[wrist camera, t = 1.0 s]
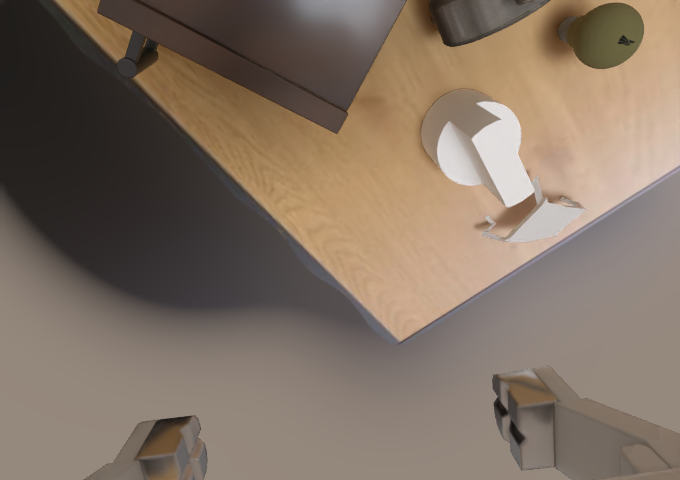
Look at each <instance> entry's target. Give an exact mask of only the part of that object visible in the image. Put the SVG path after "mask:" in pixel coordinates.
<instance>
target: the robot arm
mask: <svg viewBox="0 0 680 480" xmlns="http://www.w3.org/2000/svg"><path fill="white" fill-rule="evenodd" d="M492 383H493V390H494V392H495V393H496V395H497V396H498V397H497V399H496V400H495V402H494V412H495V418H496V422H497V426H498V429H499V431H500V433H501V435H502V437H503V439H504V440H506V441H508V442H509V443H510V451H511V453H512V455H513V457H514V459H515V460H516V462H517V464H518V466H519V467H520V469H521V470H531V469H540V468H550V467H556V469H557V470H559V471H561V472H562V473H563V474H565V475H566V476H568V477H569V478H570V479H572V480H680V434H679V433H676V432H674V431H671V430H669V429H666V428H663V427H661V426H658V425H656V424H653V423H650V422H648V421H645V420H642V419H640V418H637V417H635V416H632V415H629V414H627V413H624V412H622V411H619V410H616V409H614V408H611V407H608V406H606V405H603V404H600V403H598V402H595V401H593V400H590V399H588V398H584V399H581V398H580V397H579V396H578V395H577V394H576V393H575V392H574V391H573V390H572V389H571V388H570V387H569V386H568V384H567V383H566V382H565V381H564V380H563V379H562V378H561V377H560V376H559V375H558V374H557V373H556V372H555V371H554V369H553V368H551V367H550V366H543V367H537V368H532V369H527V370H521V371H514V372H509V373H502V374H496V375H493V379H492ZM200 430H201V427H200V423H199V420H198V418H197V417H196V416H185V417H177V418H169V419H160V420H152V421H145V422H141V423H139V424H138V425H137V426H136V428H135V429H134V431H133V432H132V434H131V435H130V437H129V438H128V440H127V442H126V443H125V445H124V446H123V448H122V449H121V451H120V453H119V454H118V456H117V457H116V459H115V460H114V462H113V463H110V464H106V465H105V466H103V467H102V468H100V469H99V470H97V471H96V472H94V473H93V474H91V475H90V476H89V477H87V478H86V479H84V480H204V477H205V474H206V469H207V451H206V447H205V443H204V442H203V441H202V440H201V439H199V438H198V435H199V433H200Z"/></svg>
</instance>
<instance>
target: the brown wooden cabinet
mask: <svg viewBox="0 0 680 480" xmlns="http://www.w3.org/2000/svg"><path fill="white" fill-rule="evenodd" d="M406 1H407V0H139V1H138V0H100V3H99V7H98V11H97V12H98V13H99V14H101V15H103V16H105V17H107V18H109V19H111V20H113V21H115V22H117V23H119V24H121V25H123V26H125V27H127V28H129V29H131V30H133V31H135V32H137V33H139V34H140V35H142V36H144V37H146V38H148V39H150V40H152V41H154V42H156V43H158V44H160V45H162V46H164V47H166V48H168V49H170V50H172V51H174V52H176V53H178V54H180V55H182V56H184V57H186V58H188V59H190V60H192V61H194V62H196V63H198V64H200V65H202V66H204V67H206V68H208V69H210V70H211V71H213V72H215V73H217V74H219V75H221V76H223V77H225V78H227V79H229V80H231V81H233V82H235V83H237V84H239V85H241V86H243V87H245V88H247V89H249V90H251V91H253V92H255V93H257V94H259V95H261V96H263V97H265V98H267V99H269V100H271V101H273V102H275V103H277V104H279V105H281V106H283V107H284V108H286V109H288V110H290V111H292V112H294V113H296V114H298V115H300V116H302V117H304V118H306V119H308V120H310V121H312V122H314V123H316V124H318V125H320V126H322V127H324V128H326V129H328V130H330V131H332V132H334V133H336V134H338V132H339V130H340V128H341V127H342V125H343V123H344V121H345V119H346V117H347V116H348V113H347V110H348V109H349V107H350V105H351V103H352V101H353V99H354V97H355V96H356V94H357V92H358V90H359V88H360V86H361V84H362V83H363V81H364V79H365V77H366V75H367V73H368V71H369V70H370V68H371V66H372V64H373V62H374V60H375V58H376V57H377V55H378V53H379V51H380V49H381V47H382V45H383V44H384V42H385V40H386V38H387V36H388V34H389V32H390V31H391V29H392V27H393V25H394V23H395V21H396V19H397V18H398V16H399V14H400V12H401V10H402V8H403V6H404V5H405V3H406ZM143 3H144V4H143ZM145 4H146V5H145ZM147 5H148V6H147ZM149 6H150V7H149ZM151 7H152V8H151ZM153 8H154V9H153ZM155 9H156V10H155ZM158 11H159V12H158ZM160 12H161V13H160ZM162 13H163V14H162ZM164 14H165V15H164ZM166 15H167V16H166ZM168 16H169V17H168ZM170 17H171V18H170ZM175 20H176V21H175ZM177 21H178V22H177ZM179 22H180V23H179ZM181 23H182V24H181ZM183 24H184V25H183ZM185 25H186V26H185ZM187 26H188V27H187ZM192 29H193V30H192ZM194 30H195V31H194ZM196 31H197V32H196ZM198 32H199V33H198ZM200 33H201V34H200ZM202 34H203V35H202ZM207 37H208V38H207ZM209 38H210V39H209ZM211 39H212V40H211ZM213 40H214V41H213ZM215 41H216V42H215ZM217 42H218V43H217ZM219 43H220V44H219ZM224 46H225V47H224ZM226 47H227V48H226ZM228 48H229V49H228ZM230 49H231V50H230ZM232 50H233V51H232ZM234 51H235V52H234ZM236 52H237V53H236ZM241 55H242V56H241ZM243 56H244V57H243ZM245 57H246V58H245ZM247 58H248V59H247ZM249 59H250V60H249ZM251 60H252V61H251ZM256 63H257V64H256ZM258 64H259V65H258ZM260 65H261V66H260ZM262 66H263V67H262ZM264 67H265V68H264ZM266 68H267V69H266ZM268 69H269V70H268ZM273 72H274V73H273ZM275 73H276V74H275ZM277 74H278V75H277ZM279 75H280V76H279ZM281 76H282V77H281ZM283 77H284V78H283ZM290 81H291V82H290ZM292 82H293V83H292ZM294 83H295V84H294ZM296 84H297V85H296ZM298 85H299V86H298ZM300 86H301V87H300ZM307 90H308V91H307ZM309 91H310V92H309ZM311 92H312V93H311ZM313 93H314V94H313ZM315 94H316V95H315ZM317 95H318V96H317ZM322 98H323V99H322ZM324 99H325V100H324ZM326 100H327V101H326ZM328 101H329V102H328ZM330 102H331V103H330ZM332 103H333V104H332ZM339 107H340V108H339ZM341 108H342V109H341ZM343 109H344V110H343ZM345 110H346V111H345Z"/></svg>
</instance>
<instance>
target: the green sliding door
mask: <svg viewBox="0 0 680 480" xmlns="http://www.w3.org/2000/svg"><path fill="white" fill-rule="evenodd" d="M138 1H139V0H138ZM143 4H144V3H143ZM145 5H146V4H145ZM147 6H148V5H147ZM149 7H150V6H149ZM151 8H152V7H151ZM153 9H154V8H153ZM155 10H156V9H155ZM158 12H159V11H158ZM160 13H161V12H160ZM162 14H163V13H162ZM164 15H165V14H164ZM166 16H167V15H166ZM168 17H169V16H168ZM170 18H171V17H170ZM175 21H176V20H175ZM177 22H178V21H177ZM179 23H180V22H179ZM181 24H182V23H181ZM183 25H184V24H183ZM185 26H186V25H185ZM187 27H188V26H187ZM192 30H193V29H192ZM194 31H195V30H194ZM196 32H197V31H196ZM198 33H199V32H198ZM200 34H201V33H200ZM202 35H203V34H202ZM207 38H208V37H207ZM209 39H210V38H209ZM145 40H146V37H144V36H142V35H140V34H139V33H137V32H135V31H133V32H132V36H131V39H130V42H129V45H128V49H127V52H126V55H125V57H124V58H122V59H120V60H119V61H118V63H117V69H118V72H119V73H120V74H121V75H122V76H123V77H126V78H133V77H135V76H136V75H137V74H139V73H140V72H142V71H143V70H145V69H146V68H148V67H149V66H150V65H152V64H153V63H155V62H156V61H157V60H158V52H157V51H156V50H157V47H158V43H156V42H154V41H152V40H150V39H148V38H147V41H146V44H145V47H143V46H144V43H145ZM211 40H212V39H211ZM213 41H214V40H213ZM215 42H216V41H215ZM217 43H218V42H217ZM219 44H220V43H219ZM224 47H225V46H224ZM226 48H227V47H226ZM228 49H229V48H228ZM230 50H231V49H230ZM232 51H233V50H232ZM234 52H235V51H234ZM236 53H237V52H236ZM241 56H242V55H241ZM243 57H244V56H243ZM245 58H246V57H245Z"/></svg>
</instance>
